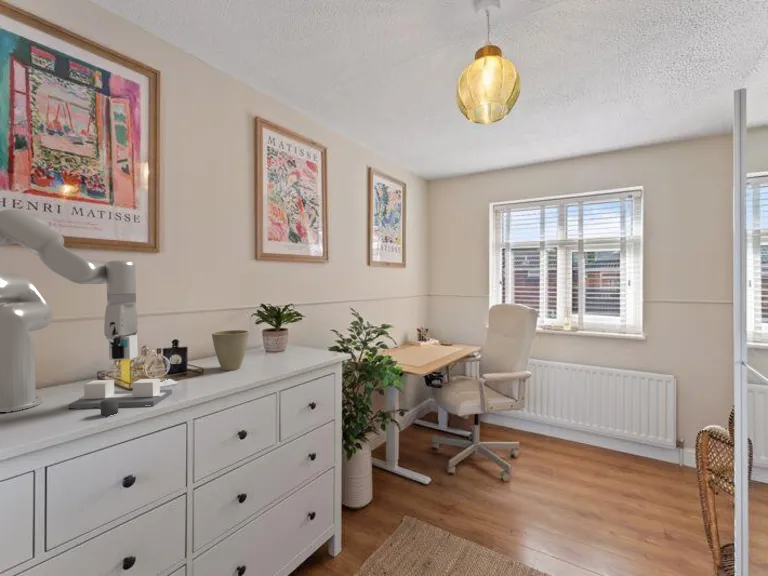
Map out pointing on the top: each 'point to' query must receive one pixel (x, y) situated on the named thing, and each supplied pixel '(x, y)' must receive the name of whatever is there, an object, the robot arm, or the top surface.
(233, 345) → the plant pot
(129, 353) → the module
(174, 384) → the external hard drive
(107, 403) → the dark grey cube
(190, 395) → the top surface
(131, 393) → the rail board
